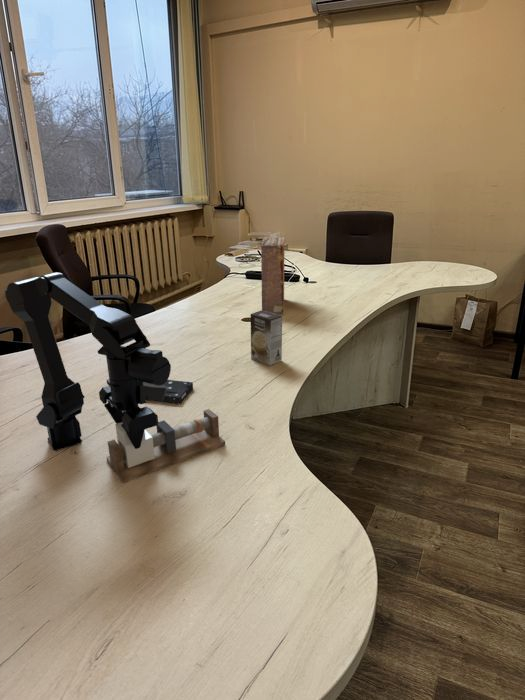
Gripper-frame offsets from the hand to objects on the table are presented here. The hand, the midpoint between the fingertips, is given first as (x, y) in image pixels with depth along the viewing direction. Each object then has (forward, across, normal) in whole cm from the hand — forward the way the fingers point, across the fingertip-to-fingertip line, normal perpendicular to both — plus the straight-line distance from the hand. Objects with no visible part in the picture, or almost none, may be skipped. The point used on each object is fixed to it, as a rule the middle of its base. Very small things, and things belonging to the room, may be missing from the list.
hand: (131, 440), depth 106 cm
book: (+6, +82, -99) cm, 129 cm away
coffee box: (+6, +32, -59) cm, 67 cm away
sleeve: (+5, 0, -1) cm, 5 cm away
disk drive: (+7, +29, -20) cm, 36 cm away
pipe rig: (+6, 0, -8) cm, 10 cm away
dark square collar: (+4, 0, -8) cm, 9 cm away
